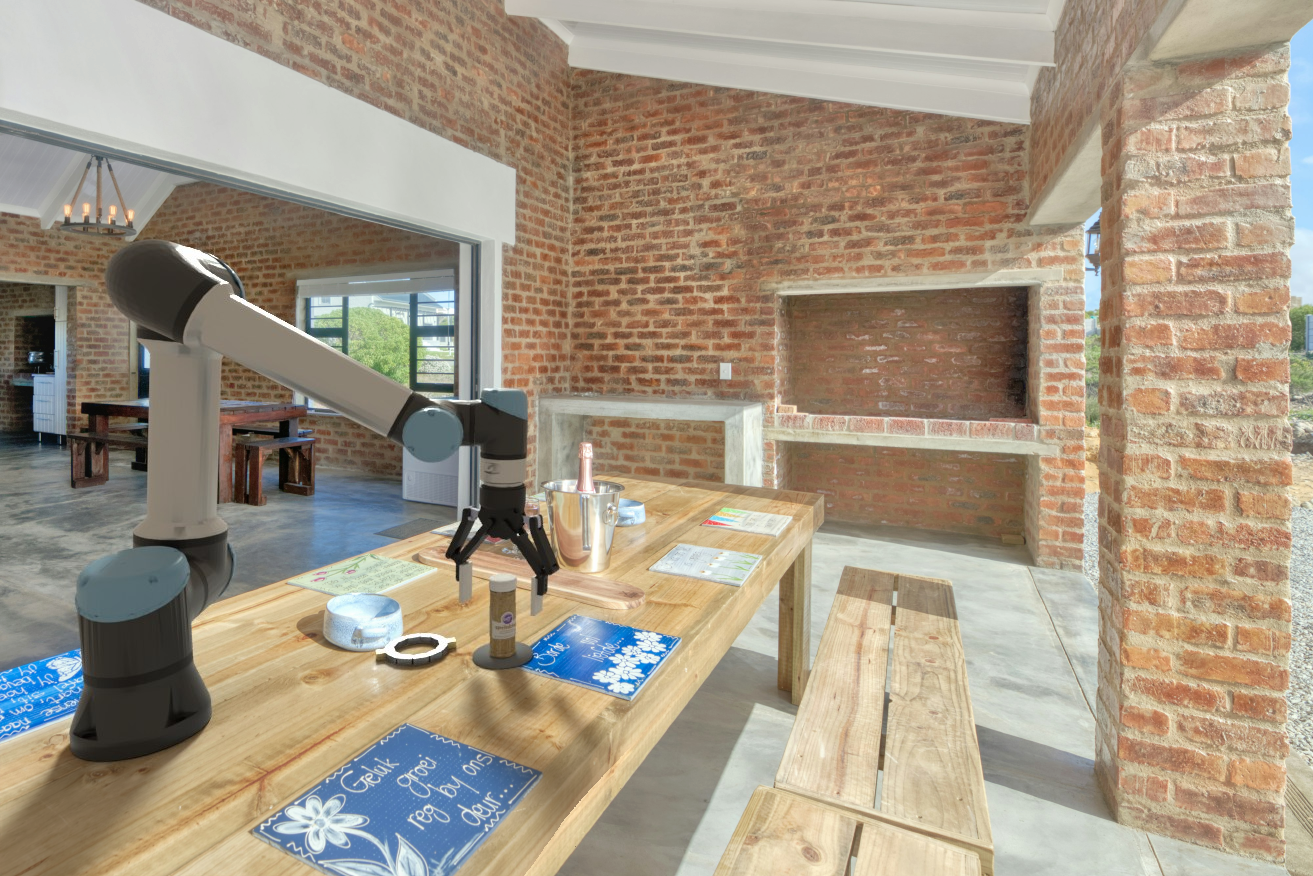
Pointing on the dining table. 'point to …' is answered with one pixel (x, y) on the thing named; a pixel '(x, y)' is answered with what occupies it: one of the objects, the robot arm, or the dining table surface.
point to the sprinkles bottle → (502, 615)
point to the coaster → (487, 661)
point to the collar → (418, 659)
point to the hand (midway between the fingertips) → (500, 606)
